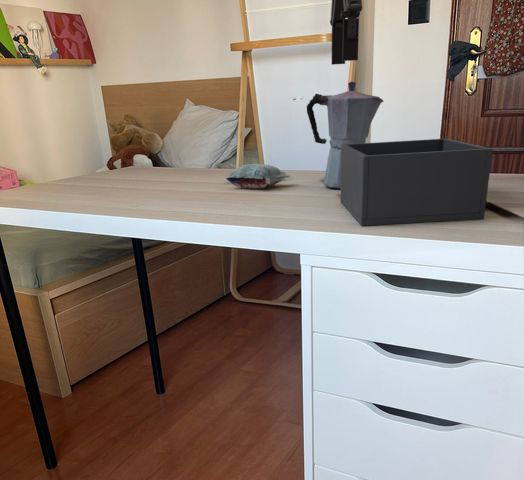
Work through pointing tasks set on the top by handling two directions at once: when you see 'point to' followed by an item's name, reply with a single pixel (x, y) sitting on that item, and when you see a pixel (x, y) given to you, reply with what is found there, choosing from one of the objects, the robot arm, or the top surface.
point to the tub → (414, 181)
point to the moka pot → (343, 125)
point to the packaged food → (256, 176)
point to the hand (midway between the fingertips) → (343, 62)
